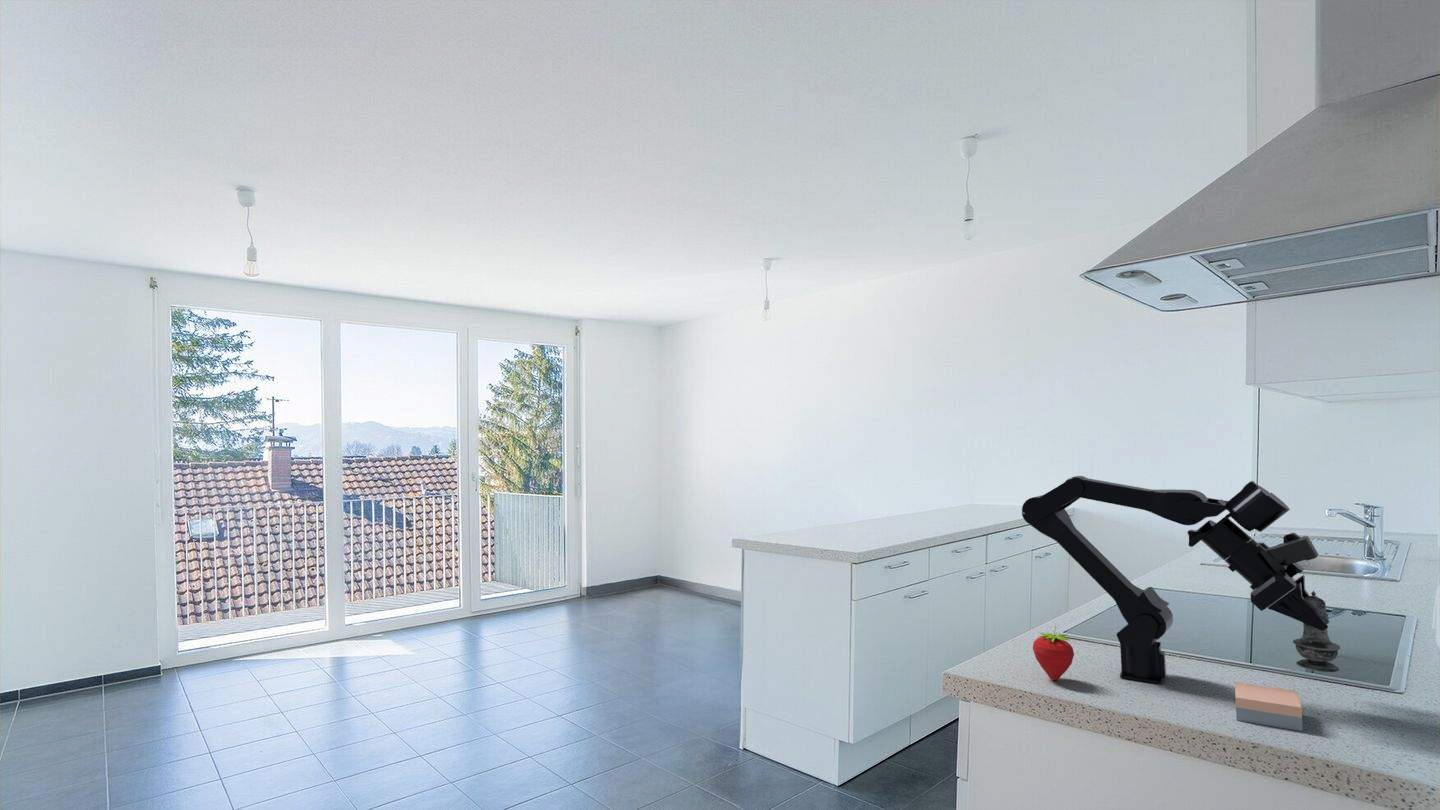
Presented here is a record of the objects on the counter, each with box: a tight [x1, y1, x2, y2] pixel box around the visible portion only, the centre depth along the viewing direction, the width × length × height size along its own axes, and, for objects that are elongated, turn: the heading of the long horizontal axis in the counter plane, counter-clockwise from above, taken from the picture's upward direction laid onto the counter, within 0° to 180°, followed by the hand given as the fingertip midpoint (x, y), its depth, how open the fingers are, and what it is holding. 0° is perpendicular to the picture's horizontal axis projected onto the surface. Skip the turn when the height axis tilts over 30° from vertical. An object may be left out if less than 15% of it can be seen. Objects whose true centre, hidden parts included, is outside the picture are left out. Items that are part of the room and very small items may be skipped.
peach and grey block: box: [1234, 681, 1304, 732], centre depth 113 cm, size 8×8×4 cm
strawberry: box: [1032, 625, 1075, 681], centre depth 131 cm, size 6×8×10 cm
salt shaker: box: [1292, 590, 1341, 673], centre depth 116 cm, size 6×6×12 cm
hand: (1326, 626), depth 115 cm, fingers closed on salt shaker, 4 cm apart
